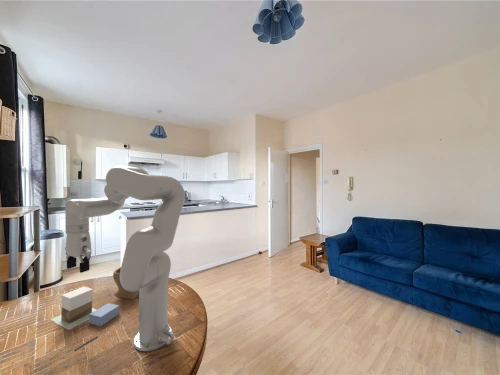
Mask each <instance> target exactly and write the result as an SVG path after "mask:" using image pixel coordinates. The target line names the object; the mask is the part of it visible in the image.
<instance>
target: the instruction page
mask: <svg viewBox="0 0 500 375" xmlns="http://www.w3.org/2000/svg"><path fill="white" fill-rule="evenodd" d="M97 339H99V336H95V337H93V338H92V339H90V340H89V341H87V342H85V343H83V344H82V345H80V346H79V347H76V348H75V349H74V350H73V351H74V352H77V351H79V350H80V349H82V348H84V347H86V346H87V345H88V344H90V343H92V342H94V341H95V340H97Z"/></svg>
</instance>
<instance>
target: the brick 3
mask: <svg viewBox="0 0 500 375" xmlns="http://www.w3.org/2000/svg"><path fill="white" fill-rule="evenodd" d="M119 314H120V305H118V304H114V303H109V302H107V303H106V304H105V305H103V306H101V307H99V308H98V309H96V311H94V312H92V313H90V314H89V320H88V323H89V324H91V325H95V326H98V327H102V326H103V325H106V324H107V322H109V321H111V320H112V319H114V318H115V317H117V316H118V315H119Z"/></svg>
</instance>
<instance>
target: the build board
mask: <svg viewBox="0 0 500 375" xmlns="http://www.w3.org/2000/svg"><path fill="white" fill-rule="evenodd" d="M96 310H97V309H96V308H94V307H92V312H94V311H96ZM50 321H52V322H53V323H54V324H55V323H56V324H57V325H59V326H60V327H62V328H63V329H66V330H67V331H70V330H72V329H74V328H75V327H77V326H79V325H82V324H83V323H85V322H87V321H89V314H88V315H86V316H84V317H82V318H80V319H78V320H76V321H74V322H72V323H70V324H69V323H67V322H65V321H63V320H62V319H61V314H59V315H57V316H55V317H53V318H50Z"/></svg>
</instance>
